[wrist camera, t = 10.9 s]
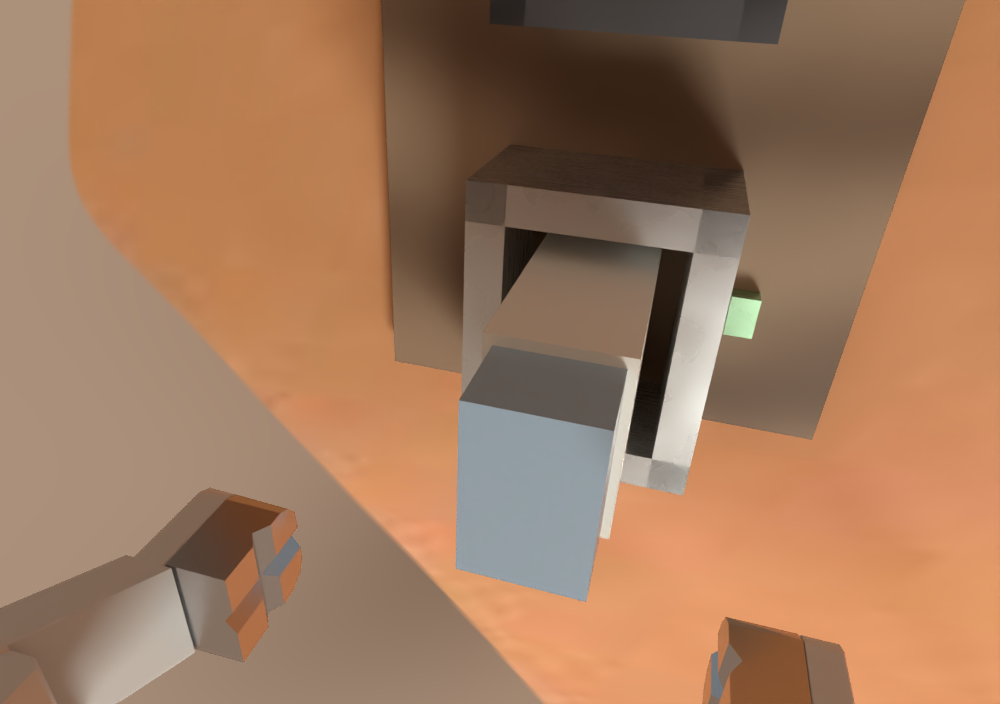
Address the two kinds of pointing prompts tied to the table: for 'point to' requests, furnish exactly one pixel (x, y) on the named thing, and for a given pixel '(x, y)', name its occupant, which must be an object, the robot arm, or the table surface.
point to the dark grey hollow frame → (651, 17)
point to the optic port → (626, 219)
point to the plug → (553, 414)
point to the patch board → (679, 139)
